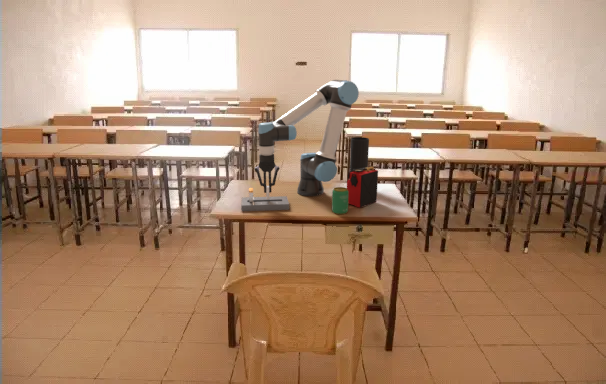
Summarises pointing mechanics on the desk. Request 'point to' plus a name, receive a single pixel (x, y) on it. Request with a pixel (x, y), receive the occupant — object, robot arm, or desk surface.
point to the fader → (250, 194)
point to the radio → (362, 186)
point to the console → (265, 203)
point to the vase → (359, 153)
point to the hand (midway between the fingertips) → (267, 198)
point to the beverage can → (340, 200)
